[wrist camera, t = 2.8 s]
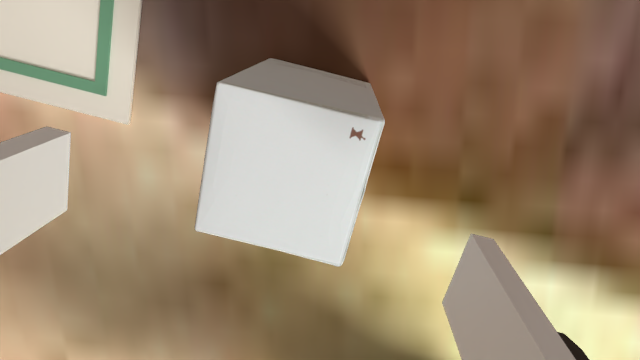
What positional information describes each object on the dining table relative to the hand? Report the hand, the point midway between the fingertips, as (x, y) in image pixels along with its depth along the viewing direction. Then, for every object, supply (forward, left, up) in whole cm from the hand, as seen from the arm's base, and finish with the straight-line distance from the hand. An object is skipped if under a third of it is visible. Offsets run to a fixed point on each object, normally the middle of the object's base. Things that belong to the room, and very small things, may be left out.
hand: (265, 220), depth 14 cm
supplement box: (0, 0, -18) cm, 18 cm away
